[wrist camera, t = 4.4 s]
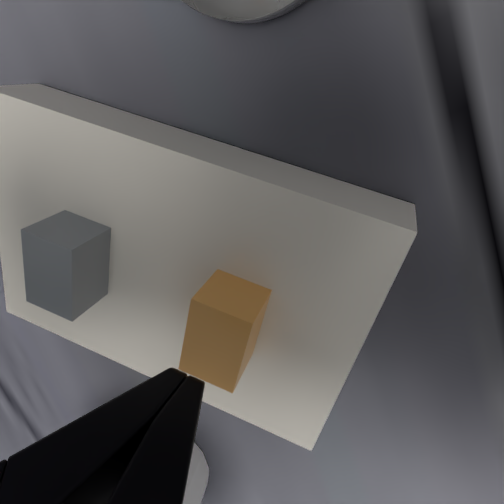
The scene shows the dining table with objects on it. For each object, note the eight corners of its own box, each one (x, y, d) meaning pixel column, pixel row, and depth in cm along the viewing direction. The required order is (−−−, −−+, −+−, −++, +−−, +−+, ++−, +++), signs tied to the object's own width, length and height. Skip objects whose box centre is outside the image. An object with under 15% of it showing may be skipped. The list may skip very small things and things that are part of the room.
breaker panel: (47, 285, 16) (-34, 336, 13) (38, 83, 13) (-80, 89, 9) (322, 404, 14) (300, 498, 11) (414, 204, 10) (421, 264, 7)
